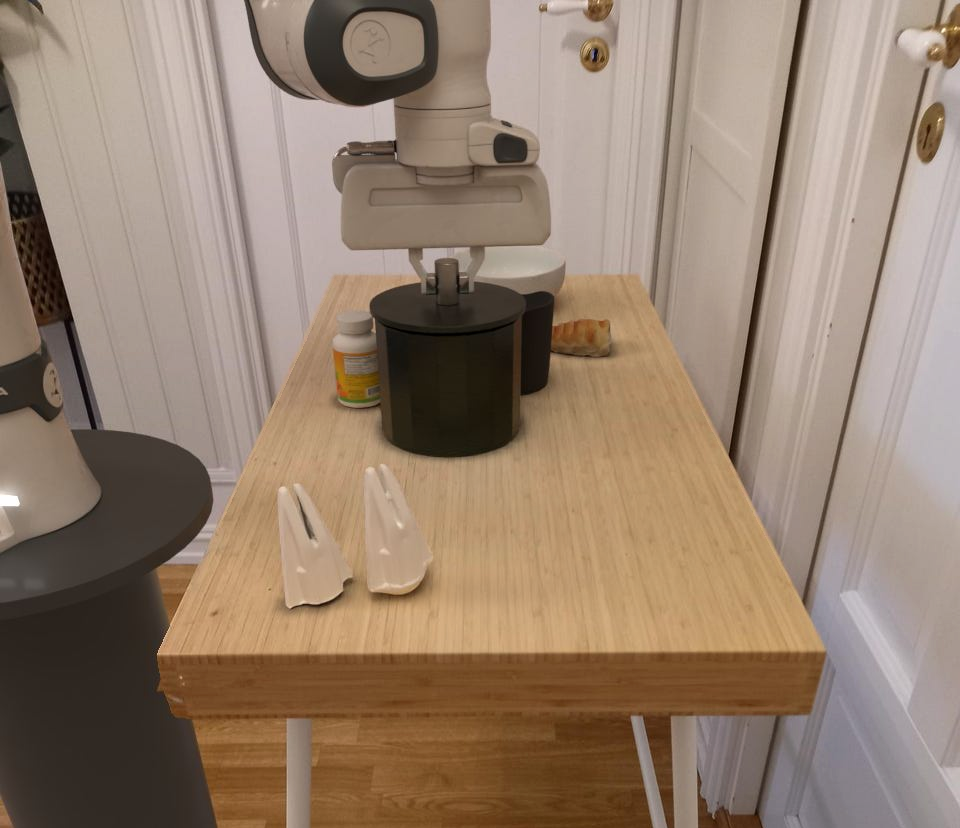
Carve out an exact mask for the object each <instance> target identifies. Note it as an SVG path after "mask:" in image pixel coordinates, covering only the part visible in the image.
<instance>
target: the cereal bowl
mask: <svg viewBox="0 0 960 828" xmlns="http://www.w3.org/2000/svg"><path fill="white" fill-rule="evenodd" d="M449 258H454V259H457V260H458V261H459V272H466V271H467V269H468V267H469V265H470V263H471V261H472V258H471V256H470V252H469V248H466V249H463V250H460V251H458V252H455V253H453V254H452V255H451V256H450V257H449ZM565 277H566V258H565V256H564V255H563V254H562V253H560V252H559V251H557V250H555V249H551V248H549V247H543V246H539V245H534V246H497V247H485V259H484V261H483V263H482V264H481V266H480V268H479V270H478V272H477V274H476V275H475V276H474V281H475V282H484V283H490V284H495V285H500V286H503V287H507V288H509V289H512V290H514V291H516V292H518V293H520V294H530V293H534V292H538V291H546V292H549V293H551V294H552V295H553V296H554V298H556V297H557V295H558V294H559V293H560V291H561V289H562V288H563V285H564V282H565Z"/></svg>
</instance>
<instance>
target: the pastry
mask: <svg viewBox="0 0 960 828" xmlns="http://www.w3.org/2000/svg"><path fill="white" fill-rule="evenodd" d="M612 341H613V337H612V333H611V321H610V320H609V319H607V318H605V319H603V320H597V319H594V318H593V319H592V318H580V319H578V320H569V321H567V322H560V323H558V324H557V325H553V326H552V340H551V352H553V353H556V354H557V353H561V354H565V355H573V356H581V357H585V356H590V357H594V358H596V357H597V358H598V357H604V356H608V355H609V353H610V351H611V349H610V347H611V343H612Z"/></svg>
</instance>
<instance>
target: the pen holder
mask: <svg viewBox="0 0 960 828" xmlns="http://www.w3.org/2000/svg"><path fill="white" fill-rule="evenodd" d="M521 295H522V296H523V297H524V298H525V300H526V310H525V312H524V314H523V315H522V339H521V395H524V394H525V395H526V394H531V393H534V392H537V391H539V390H541V389H543V388H544V387H545V386H546V385H547V383H548V382H549V376H550V364H551V353H552V351H551V340H552V326H554V325H553V323H554V312H555V311H554V310H555V297H554V296H553V295H552V294H551V293H549V292H546V291H538V292H534V293H530V294H521Z"/></svg>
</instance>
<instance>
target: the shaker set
mask: <svg viewBox="0 0 960 828" xmlns="http://www.w3.org/2000/svg"><path fill="white" fill-rule="evenodd" d="M378 470H379V471H378V472H379V474H378V473H377V470H376V469H375V467H373V466H368V467H366V469H365V471H364V475H363V507H364V509H363V511H364V540H365V541H364V542H365V561H366V562H365V563H366V564H365V565H366V582H367V590H368V591H369V592H370V593H382V594H390V595H394V596H401V595H407V594H408V593H409V594H410V592H412V591H414V590H415V589H416V588H418V586H420V583H421V582H422V581H423V579H424V578H425V576H426V571H427V569H428V567H429V566H430V564H431V563H433V561H434V559H435V558H434V553H433V551H432V549H431V548H430V546H429V544H428V542H427V539H426V537H425V535H424V534H423V531H422V529H421V527H420V525H419V522H418V521H417V518H416V516H415V514H414V513H413V510H412V508H411V506H410V504H409V502H408V500H407V499H406V496H405V493H404V492H403V489H402V488H401V485H400V483H399V481H398V479H397V477H396V476H395V475H394V473H393V472H392V470H391V469H390V467H389V466H388V465H387V464H384V463H381V464H380V465H379V467H378ZM292 487H293V488H292V491H293V494H294V498H295V500H294V499H293V496H292V494H291V492H290V490H289V488H288V487H287V486H283V485H282V486H280V487H279V488H278V489H277V517H278V518H277V519H278V532H279V533H278V534H279V546H280V559H281V570H282V571H281V572H282V580H283V581H282V582H283V590H284V591H283V592H284V600H285V601H284V602H285V607H287V608H288V609H292V608H293V607H297V606H301V605H303V604H305V605H306V604H308V605H309V604H310V605H320V604H323V603H327V602H330V601H331V600H333V599H335V598H337V597H338V596H339V595H340V594H341V593H342V592H344V582H346V580H347V579H350V578H353V577H354V571H353V569H352V568H351V566H350V565H349V563H348V561H347V559H346V555H345V554H344V553H343V551H342V550H341V547H339V544H338V542H337V540H336V539H335V538H334V536H333V534H332V532H331V531H330V529H329V526H328V525H327V524H326V522H325V520H324V519H323V517H322V515H321V513H320V512H319V510H318V509H317V507H316V505H315V504H314V501H313V500H312V498H311V496H310V495H309V494H308V492H307V491H306V490H305V488H304V487H303V486H302V485H301V484H300V483H298V482H295V483H294V482H293V486H292ZM295 501H296V503H295Z"/></svg>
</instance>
